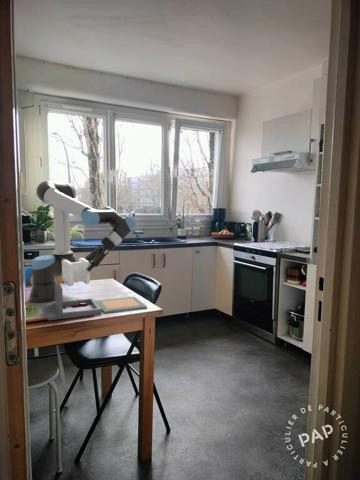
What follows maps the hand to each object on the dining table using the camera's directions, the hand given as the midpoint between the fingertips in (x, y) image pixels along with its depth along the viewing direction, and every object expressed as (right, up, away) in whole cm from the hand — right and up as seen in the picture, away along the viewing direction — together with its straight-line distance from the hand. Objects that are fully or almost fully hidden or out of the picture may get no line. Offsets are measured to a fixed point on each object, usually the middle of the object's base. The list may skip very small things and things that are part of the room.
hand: (80, 272), depth 169 cm
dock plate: (+18, -18, +11) cm, 28 cm away
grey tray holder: (-4, -19, 0) cm, 19 cm away
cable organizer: (-2, -5, 0) cm, 6 cm away
